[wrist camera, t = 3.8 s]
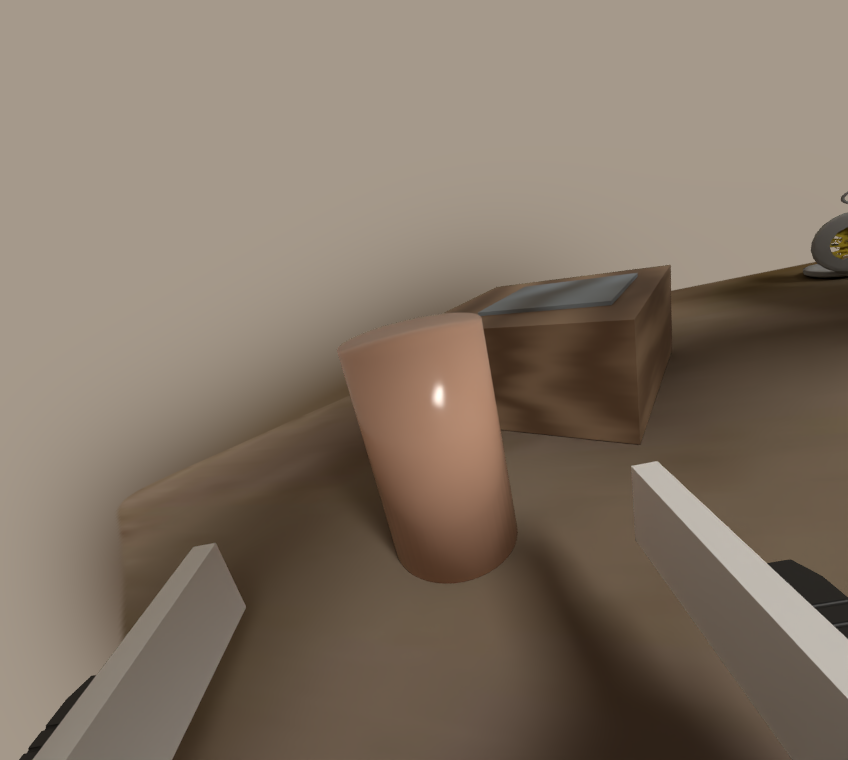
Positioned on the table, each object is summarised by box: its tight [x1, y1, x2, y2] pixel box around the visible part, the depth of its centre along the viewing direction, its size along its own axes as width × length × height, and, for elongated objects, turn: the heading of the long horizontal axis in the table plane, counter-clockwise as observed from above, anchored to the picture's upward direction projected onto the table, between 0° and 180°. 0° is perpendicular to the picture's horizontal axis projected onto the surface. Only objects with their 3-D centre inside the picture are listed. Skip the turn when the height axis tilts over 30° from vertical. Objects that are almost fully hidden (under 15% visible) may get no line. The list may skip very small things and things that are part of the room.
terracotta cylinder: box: [337, 313, 518, 583], centre depth 19 cm, size 6×6×11 cm
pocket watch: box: [803, 192, 848, 278], centre depth 47 cm, size 8×8×10 cm
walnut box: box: [443, 265, 672, 445], centre depth 35 cm, size 17×18×8 cm
